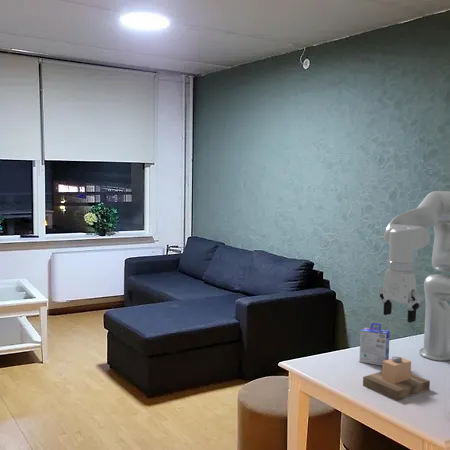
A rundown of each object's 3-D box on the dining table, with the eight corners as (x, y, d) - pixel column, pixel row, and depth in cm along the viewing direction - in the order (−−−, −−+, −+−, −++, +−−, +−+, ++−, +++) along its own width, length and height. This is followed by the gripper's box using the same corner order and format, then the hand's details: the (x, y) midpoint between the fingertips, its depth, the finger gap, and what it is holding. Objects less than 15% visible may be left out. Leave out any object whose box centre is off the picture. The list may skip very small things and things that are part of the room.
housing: (382, 378, 180) (382, 358, 179) (398, 373, 184) (399, 353, 184) (394, 383, 176) (394, 362, 175) (410, 378, 180) (411, 358, 179)
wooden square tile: (395, 375, 191) (395, 367, 190) (429, 389, 179) (429, 380, 179) (362, 385, 182) (363, 376, 182) (396, 400, 170) (397, 391, 170)
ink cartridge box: (389, 362, 204) (390, 324, 202) (386, 366, 199) (387, 328, 197) (362, 357, 208) (364, 320, 207) (359, 362, 204) (360, 324, 202)
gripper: (372, 263, 181) (370, 313, 183) (415, 272, 167) (413, 326, 169) (387, 261, 185) (386, 310, 187) (431, 269, 171) (429, 322, 173)
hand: (399, 317), depth 178 cm, fingers open, 9 cm apart
